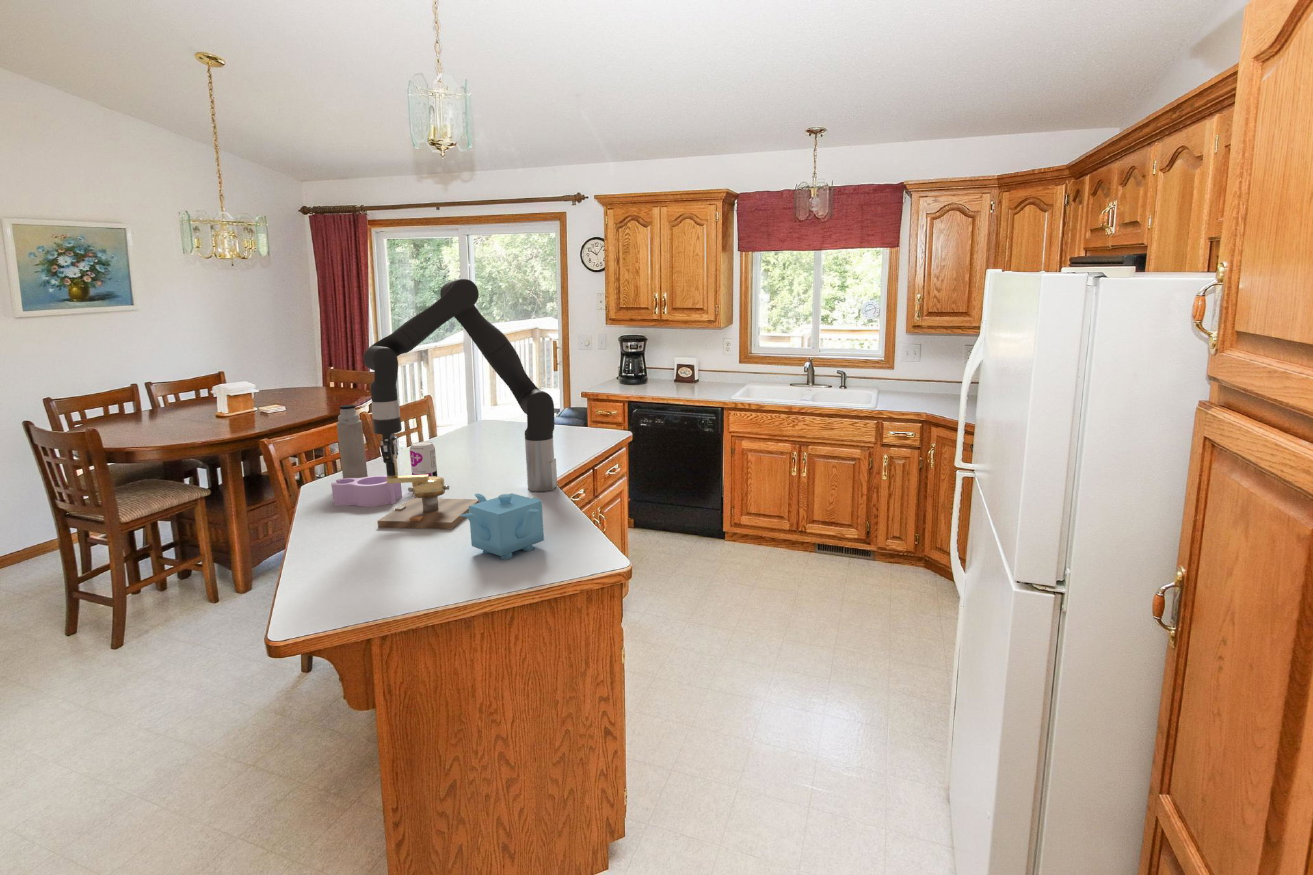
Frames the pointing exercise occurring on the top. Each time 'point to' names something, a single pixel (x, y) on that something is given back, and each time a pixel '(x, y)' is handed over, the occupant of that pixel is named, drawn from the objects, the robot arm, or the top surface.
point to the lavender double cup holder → (365, 491)
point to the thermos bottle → (351, 443)
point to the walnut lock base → (428, 513)
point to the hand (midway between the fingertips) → (392, 473)
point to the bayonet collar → (420, 483)
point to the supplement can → (423, 459)
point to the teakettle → (505, 524)
